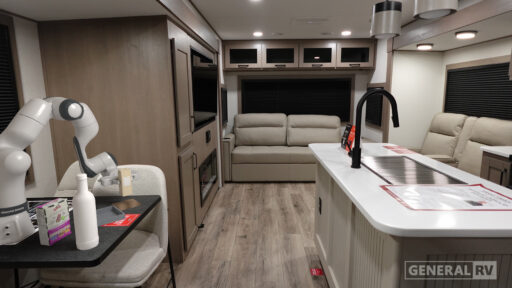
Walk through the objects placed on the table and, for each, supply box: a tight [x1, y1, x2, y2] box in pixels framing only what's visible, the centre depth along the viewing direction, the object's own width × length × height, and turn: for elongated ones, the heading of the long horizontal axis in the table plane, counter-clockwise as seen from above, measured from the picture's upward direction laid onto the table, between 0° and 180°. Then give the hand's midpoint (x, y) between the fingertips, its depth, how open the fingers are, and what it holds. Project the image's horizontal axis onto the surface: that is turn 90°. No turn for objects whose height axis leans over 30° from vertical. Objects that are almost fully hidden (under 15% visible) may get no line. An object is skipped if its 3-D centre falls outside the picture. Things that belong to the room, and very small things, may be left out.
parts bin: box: [96, 205, 126, 228], centre depth 142 cm, size 15×15×3 cm
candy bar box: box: [34, 197, 73, 247], centre depth 121 cm, size 11×5×16 cm, turn 168°
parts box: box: [118, 167, 133, 197], centre depth 157 cm, size 5×5×14 cm
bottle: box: [71, 173, 100, 251], centre depth 115 cm, size 8×8×30 cm
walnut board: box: [110, 198, 143, 212], centre depth 159 cm, size 12×12×1 cm
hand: (125, 181), depth 157 cm, fingers closed on parts box, 5 cm apart
